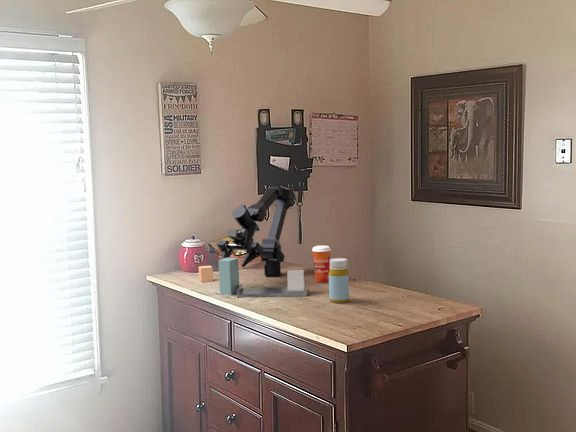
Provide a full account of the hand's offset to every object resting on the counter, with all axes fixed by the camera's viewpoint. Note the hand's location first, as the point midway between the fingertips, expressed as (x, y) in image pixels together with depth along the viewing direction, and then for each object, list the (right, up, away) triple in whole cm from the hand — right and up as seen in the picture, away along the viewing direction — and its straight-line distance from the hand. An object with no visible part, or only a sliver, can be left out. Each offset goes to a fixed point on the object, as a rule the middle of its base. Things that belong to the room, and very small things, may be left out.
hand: (232, 265), depth 266 cm
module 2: (-1, -10, -1) cm, 10 cm away
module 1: (-13, -8, +21) cm, 26 cm away
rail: (+16, -10, -5) cm, 19 cm away
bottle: (+40, -11, -20) cm, 46 cm away
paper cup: (+35, -7, +14) cm, 39 cm away
